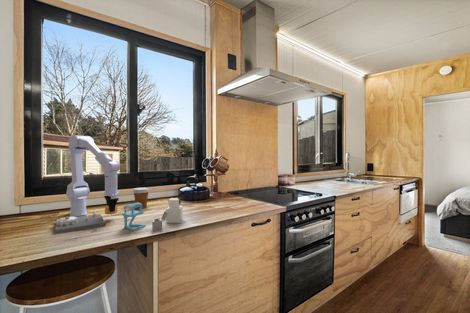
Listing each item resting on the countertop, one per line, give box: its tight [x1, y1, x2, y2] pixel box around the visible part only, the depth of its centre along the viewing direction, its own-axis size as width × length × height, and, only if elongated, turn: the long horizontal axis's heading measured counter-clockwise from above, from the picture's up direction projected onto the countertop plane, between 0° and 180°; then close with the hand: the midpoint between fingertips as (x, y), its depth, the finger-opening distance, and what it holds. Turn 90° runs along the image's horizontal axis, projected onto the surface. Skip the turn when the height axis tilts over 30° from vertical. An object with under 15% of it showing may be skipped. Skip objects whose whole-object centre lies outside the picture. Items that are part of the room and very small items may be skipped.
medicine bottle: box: [165, 196, 183, 224], centre depth 122 cm, size 7×7×12 cm
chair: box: [122, 202, 146, 232], centre depth 111 cm, size 8×8×12 cm
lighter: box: [151, 210, 168, 232], centre depth 110 cm, size 7×2×8 cm, turn 125°
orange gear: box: [104, 204, 118, 215], centre depth 123 cm, size 6×6×4 cm
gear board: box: [55, 210, 106, 234], centre depth 115 cm, size 18×19×4 cm
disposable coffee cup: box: [132, 186, 150, 210], centre depth 149 cm, size 10×10×12 cm
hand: (111, 210), depth 123 cm, fingers closed on orange gear, 6 cm apart
